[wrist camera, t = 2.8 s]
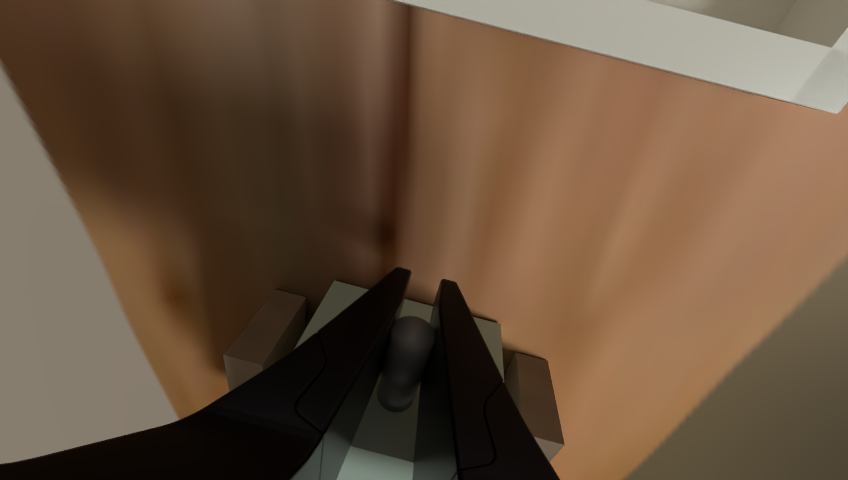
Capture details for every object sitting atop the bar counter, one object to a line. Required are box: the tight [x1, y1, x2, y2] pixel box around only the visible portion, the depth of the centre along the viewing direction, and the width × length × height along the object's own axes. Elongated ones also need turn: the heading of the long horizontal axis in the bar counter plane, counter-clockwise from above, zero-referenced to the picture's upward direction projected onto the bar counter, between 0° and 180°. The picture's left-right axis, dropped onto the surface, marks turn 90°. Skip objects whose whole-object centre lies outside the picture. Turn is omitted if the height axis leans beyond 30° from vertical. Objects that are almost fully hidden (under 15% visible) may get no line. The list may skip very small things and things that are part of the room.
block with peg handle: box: [294, 280, 504, 480], centre depth 11 cm, size 8×6×5 cm
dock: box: [223, 289, 564, 462], centre depth 13 cm, size 7×10×3 cm, turn 78°
